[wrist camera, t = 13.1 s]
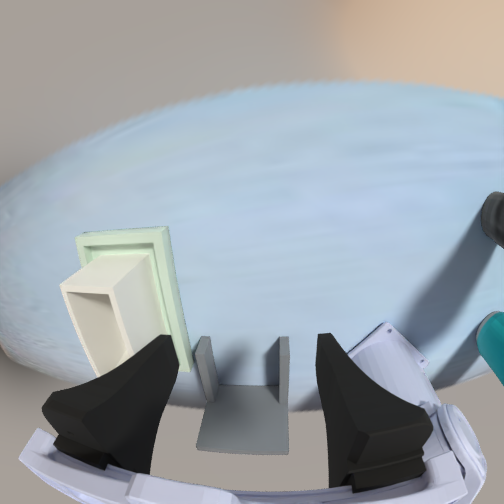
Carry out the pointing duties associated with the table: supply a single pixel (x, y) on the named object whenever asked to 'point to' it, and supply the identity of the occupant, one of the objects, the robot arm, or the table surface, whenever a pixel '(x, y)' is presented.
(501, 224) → the beverage cup
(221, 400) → the bay
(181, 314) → the tray
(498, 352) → the beverage can
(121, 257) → the box
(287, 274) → the table surface
